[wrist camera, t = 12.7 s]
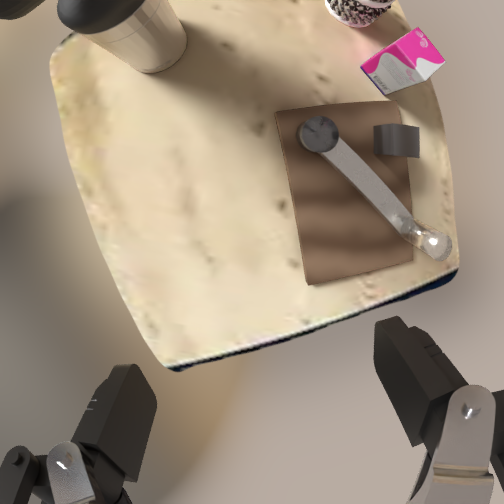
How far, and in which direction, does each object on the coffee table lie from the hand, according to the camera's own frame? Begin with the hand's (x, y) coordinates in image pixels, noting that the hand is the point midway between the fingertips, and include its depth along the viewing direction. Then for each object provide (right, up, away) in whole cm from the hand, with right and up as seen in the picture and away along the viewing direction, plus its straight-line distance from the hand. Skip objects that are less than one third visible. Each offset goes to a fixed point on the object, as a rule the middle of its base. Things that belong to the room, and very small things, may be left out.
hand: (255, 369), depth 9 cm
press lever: (+14, +14, +28) cm, 34 cm away
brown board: (+14, +13, +31) cm, 36 cm away
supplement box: (+20, +31, +25) cm, 44 cm away
